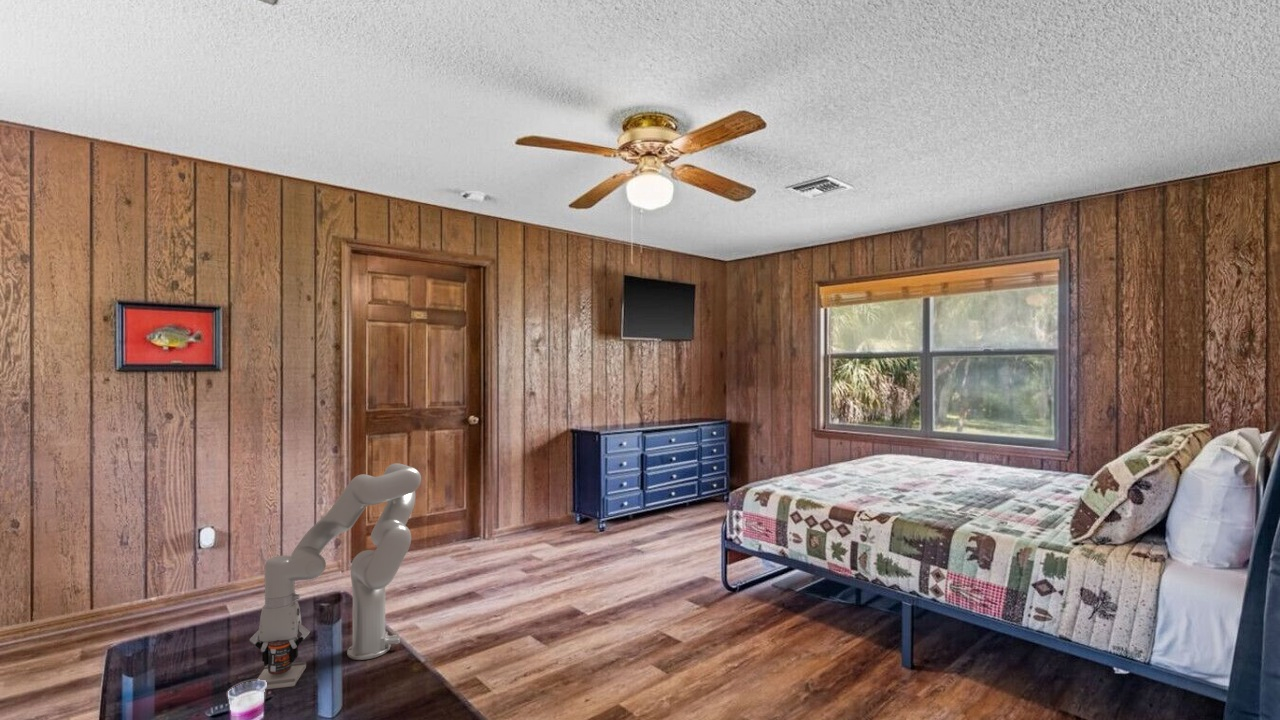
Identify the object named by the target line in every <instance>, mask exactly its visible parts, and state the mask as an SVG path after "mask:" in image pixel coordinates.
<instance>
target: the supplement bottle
mask: <svg viewBox="0 0 1280 720" xmlns="http://www.w3.org/2000/svg"><path fill="white" fill-rule="evenodd" d="M290 649H291V644H290V642H289V640H277V641H273V642H269V644H268V665H267V666H268V672H269V673H270V674H273V675H277V674H282V673H285V672H287V671H288V670H290V669H291V667H292V663H291V662H290Z"/></svg>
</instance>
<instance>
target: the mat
mask: <svg viewBox="0 0 1280 720" xmlns="http://www.w3.org/2000/svg"><path fill="white" fill-rule="evenodd" d="M306 668H307V661H300V662H299V661H298V662H293V663H292V667H291V669H290V670H288V671H287V672H285V673H282V674H277V675H273V674H270V673H269V672H268V665H266V666H264V668H263V670H262V671H261V672H260V674H259V676H258V677H257V679H255V681H256V680H258V679H260V680H266V682H267V689H266V690H271V689H281V688H288V687H295V686H296V685H297V682H298V681H299V679H300V678H301V676H302V675H303V673H304V672H305V669H306Z"/></svg>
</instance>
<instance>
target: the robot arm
mask: <svg viewBox="0 0 1280 720" xmlns="http://www.w3.org/2000/svg"><path fill="white" fill-rule="evenodd" d="M421 483H422V476H421V472H419V470H417V469H416V468H415V467H412V466H409V465H406V464H402V463H398V462H396V463H392V464H390V465H388V466H387V467H386V469H385V470H384V472H383V474H382V475H378V476H372V475H370V474H365V473H363V474H359V475H355V477H353V478H352V479H351V481H350V482H349V483H348V484H347V485H346V487H345V488H344V489H343V491H342V493H341V494H340V495H339V496H338V498H337V499H336V501H335V502H334V504H333V505H332V506H331V507H330V509H329V511H328V512H327V513H326V514H325V515H324V516H323V517H321V518H320V519H319V520H318V521H317V523H315V524H314V525H313V526H312V527H310V529H309V530H308V531H307V532H306V533H305V534H304V536H303V537H302V539H301V540H300V541H299V542H298V543H297V545H296V546H295V548H294V550H293V551H292V553H291V555H285V554H283V555H279V556H278V555H277V556H273V557H270V558H269V559H267V560H266V561H265V563H264V605H263V606H262V609H261V612H260V620H259V627H258V630H257V631H256V632H255V633H254V634H253V635H252V636H251V637H250V638H249V642H250V643H252V644H253V645H255V647H256V648H258V649H259V650H260V652H261V653H262V655H261V656H262V659H261V660H262V662H264V663H263V666H264V667H265V666H268V644H269V642H273V641H277V640H289V642H290V644H291V649H290V662H291V663H295V661H296V659H297V658H298V655H299V650H298V649H299V647H298V646H299V645H300V644H301V643H302V642H303V641H304V640H305V639H306V638H307V637H308V636H309V634H310V633H311V631H310V630H309V629H307V627H305V626H304V625H303V624H302V616H301V609H300V605H299V601H298V600H300V598H301V594H300V593H299V594H298V593H296V587H295V586H296V585H295V582H297V581H309V580H314V579H316V578H318V577H320V576H321V575H322V574H323V573H324V572H325V570H326V567H327V566H326V565H327V562H326V560H325V558H324V557H323V556H322V555H321V553H322V552H323V550H324V549H325V548H326V546H327V545H328V544H329V543H330V542H331V541H332V540H333V539H334V538H336V537H337V536H338V535H340V534H343V533H345V532H347V531H349V530H350V529H353V528H352V527H354V525H356V524H355V523H356V522H357V520H358V519H359V518H360V517H361V515H362V514H363V512H364V511H365V509H366V508H367V506H376V505H378V504H382V503H386V504H385V506H384V508H383V509H382V512H381V514H380V515H379V518H378V520H377V521H376V523H375V525H374V527H373V529H372V531H371V534H370V540H371V542H372V544H373V545H374V546H375V547H376V549H375V550H373V549H367V550H362V551H360V552H359V553H357V554H356V556H354V558H353V559H352V560H351V564H350V580H351V588H352V589H351V590H352V645H351V646H350V647H349V648H348V649H347V651H346V653H347V657H348V658H350V659H352V660H355V661H356V660H357V661H361V660H362V661H365V660H370V659H371V660H372V659H375V658H378V657H380V656H382V655H385V654H386V653H387V652H389V650H390V649H391V645H398V644H400V642H401V637H400V636H398V635H397V634H394V635H389V632H388V631H387V630H386V587H387V586H388V585H389V584H390V583H392V581H393V579H394V578H395V577H396V575H397V572H398V571H399V569H400V567H401V565H402V563H403V562H404V559H405V557H406V555H407V553H408V551H409V549H410V547H411V542H412V533H411V531H410V530H411V529H409V527H408V526H406V525H407V523H408V521H409V519H410V517H411V514H412V512H413V511H414V507H415V504H416V498H417V497H416V491H417V490H418V489H419V487H420V486H421ZM300 633H301V635H300V637H298V634H300Z"/></svg>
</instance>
